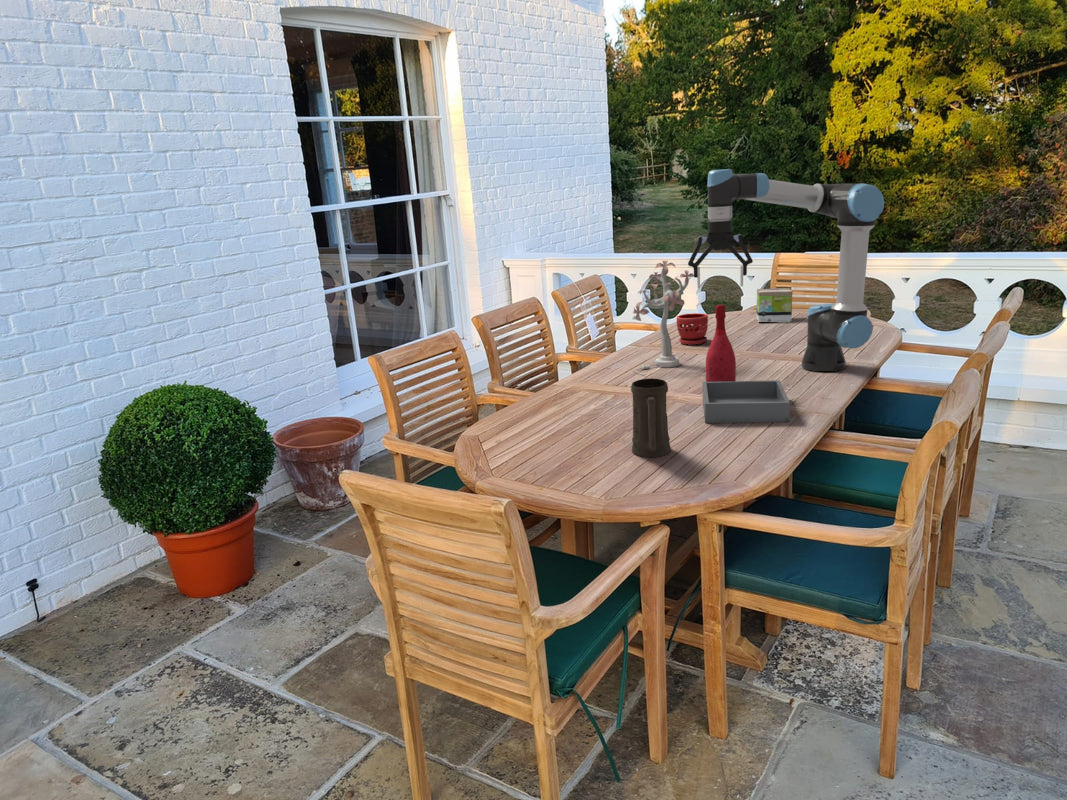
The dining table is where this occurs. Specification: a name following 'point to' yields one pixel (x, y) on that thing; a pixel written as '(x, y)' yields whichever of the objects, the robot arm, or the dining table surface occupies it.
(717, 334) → the wine bottle
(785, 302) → the tea box
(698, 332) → the plant pot
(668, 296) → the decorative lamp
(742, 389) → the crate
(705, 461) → the dining table surface
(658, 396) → the beer stein
